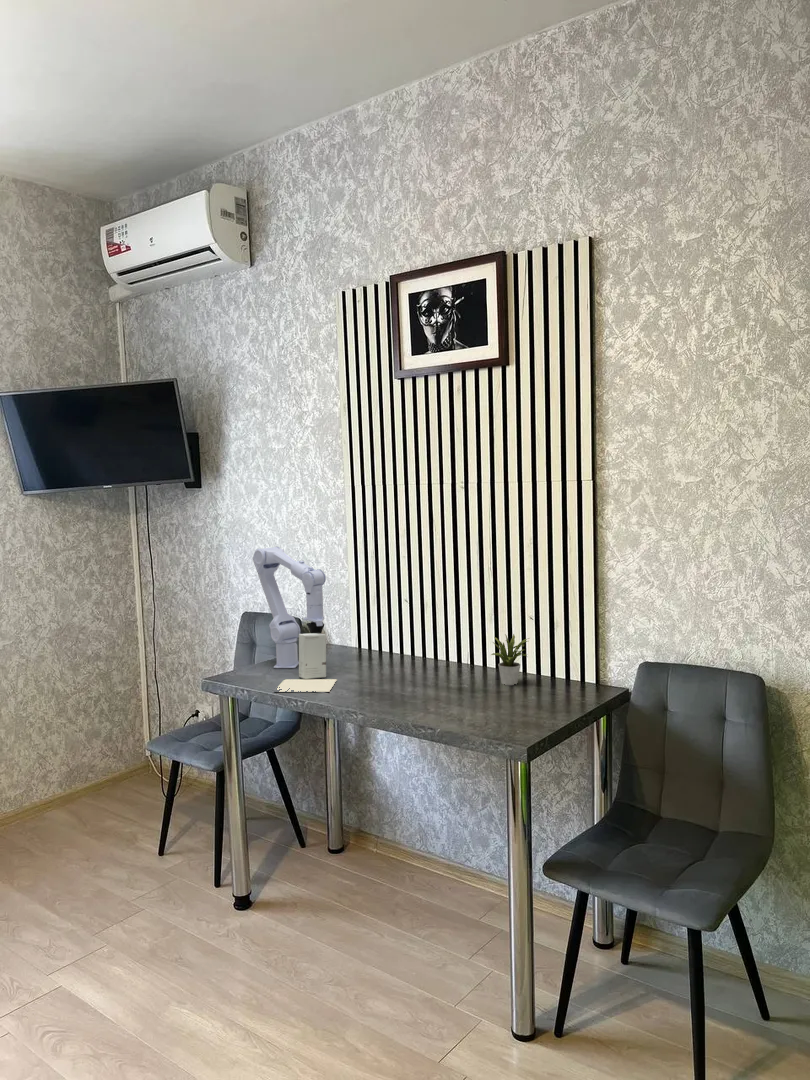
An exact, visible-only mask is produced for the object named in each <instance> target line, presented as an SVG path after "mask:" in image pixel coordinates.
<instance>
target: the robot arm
mask: <svg viewBox="0 0 810 1080" xmlns="http://www.w3.org/2000/svg"><path fill="white" fill-rule="evenodd" d="M252 561H253V564H254V567H255V570H256V572H257V575H258V578H259V581H260V583H261V587H262V590H263V593H264V596H265V599H266V602H267V604H268V607H269V609H270V613H271V615H272V618H273V619H272V620H271V622H270V623H269V625H268V626H269V629H270V630H269V631H270V637H271V639H272V641H273V642H274V644H275V651H276V652H275V655H276V658H275V659H276V664H275V665H274V666H273V669H296V667H298V666H299V651H298V643H297V642H298V639H299V634H301V628H300V624H298V623H297V621H296V619H295V617H294V616H293V615H291V614H289V613H288V611H287V608H286V606H285V603H284V600H283V596H282V594H281V591H280V588H279V586H278V585H279V584H278V583H277V580H276V577H275V572H276V571H277V570H278V569H279V567H280V566H283V567H285V568H287V569H288V570H290V573H291V575H292V576H294V577H295V578H297V579H298V580H300V581H301V583H302V585H303V589H304V592H305V600H306V601H305V602H306V617H303V620H304V621H308V622H306V626H307V627H308V630H309V633H322V632H323V629H324V627H325V623H324V622H323V621H324V620H325V616H324V598H323V597H324V595H323V594H324V591H323V590H324V589H323V585H325V583H326V579H327V578H326V574H325V572H324V570H322V569H320V568H318V569H314V567H313V566H310V565H308V564H307V563H305V561H304V560H297V561H296V560H295V559H293V558H292V557H291V556H290V555H288V554H287V553H286V552H285V550H284V549H283V548H281V547H280V546H273V547H263V548H255V550H254V552H253V556H252Z"/></svg>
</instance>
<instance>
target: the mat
mask: <svg viewBox="0 0 810 1080" xmlns="http://www.w3.org/2000/svg"><path fill="white" fill-rule="evenodd" d="M336 681H338V679H335V678H334V679H333V678H329V679H326V678H325V679H323V678H322V679H320V678H312V679H303V678H301V679H295V678H294V679H291V678H290V679H289V678H288V679H284V680H282V681H281V683H280V684H279V685H278V686H277V687H278V688H277V687H276V688H277V690H279V689H282V690H280V691H279V692H285V691H287V690H288V689H289V688H290V689H289V690H288V691H287V692H291V690H294V692H298V691H299V692H300V691H301V692H306V691H308V692H312V691H314V692H315V691H316V692H330V693H331V691H332V690H333V688H334V687H333V686H335V685H336V683H337V682H336ZM335 682H336V683H335ZM334 684H335V685H334ZM279 687H280V688H279ZM332 687H333V688H332ZM331 689H332V690H331ZM330 690H331V691H330Z"/></svg>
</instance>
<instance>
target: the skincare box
mask: <svg viewBox="0 0 810 1080" xmlns="http://www.w3.org/2000/svg"><path fill="white" fill-rule="evenodd" d="M298 661H299V664H298V677H299V678H301V679H320V678H326V677H327V634H325V633H322V632H321V633H310V632H309V633H300V634H299V637H298Z"/></svg>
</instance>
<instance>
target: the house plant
mask: <svg viewBox="0 0 810 1080" xmlns="http://www.w3.org/2000/svg"><path fill="white" fill-rule="evenodd" d="M504 635H505V638H506V640H505V642H506V644H505V643H504V642H502V641H500V640H499V639H498V638H497V637H495V636H494V639H495V640H496V642H497V644H496V643H495V642H494V641H492V643H493V645H495V646H496V647H497V649H498V650H499V652H496V653H495V652H493V653H491V654H490V656H497V657H499V658H500V659H501V661H502V662H500V663H498V670H499V676H500V682H501V684H502V685H504V684H505V685H504V686H515V685H514V684H516V685H517V683H519V676H520V670H521V663H519V662H517V661H516V660H517V658H518V657H520V656H521V657H523V656H525V657H527V654H526V653H525V654H524V652H523V651H526V648H525V649H524V648H523V649H521V650H519V649H520V648H521V647H522V646H524V644H525V643H527V642H528V640H529V639H530V637H529V638H525V639H523V640H521V641H520V642H519V643H518V644H517V645H515V643H516V642H515V638H516V637H515V634H514V633H513V635H512V636H511V637H512V638H511V639H510V640H509V639H508V635H507V634H506V633H505V634H504ZM505 645H507V648H506V646H505ZM522 652H523V653H522ZM521 657H520V658H518V660H519V659H521Z"/></svg>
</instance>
